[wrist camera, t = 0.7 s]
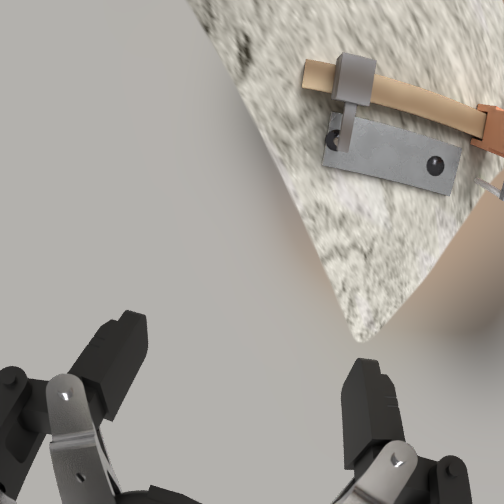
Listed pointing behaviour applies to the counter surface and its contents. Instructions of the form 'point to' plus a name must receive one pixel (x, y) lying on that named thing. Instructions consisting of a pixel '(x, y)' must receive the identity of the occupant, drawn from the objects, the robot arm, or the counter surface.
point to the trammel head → (492, 141)
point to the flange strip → (393, 155)
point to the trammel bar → (384, 96)
